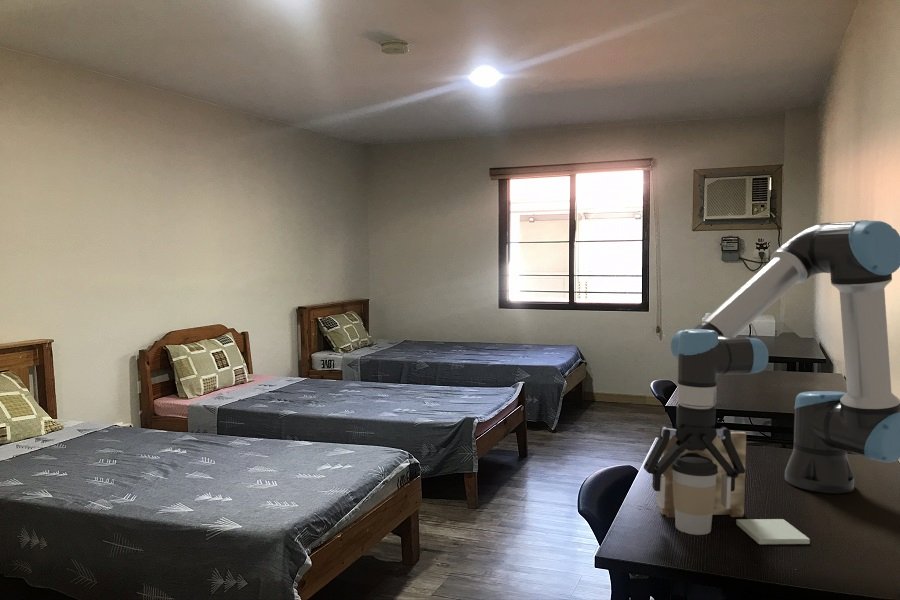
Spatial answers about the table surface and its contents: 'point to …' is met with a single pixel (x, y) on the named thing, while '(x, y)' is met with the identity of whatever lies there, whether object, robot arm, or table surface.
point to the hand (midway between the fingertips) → (692, 506)
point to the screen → (736, 495)
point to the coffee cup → (694, 493)
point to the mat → (772, 531)
